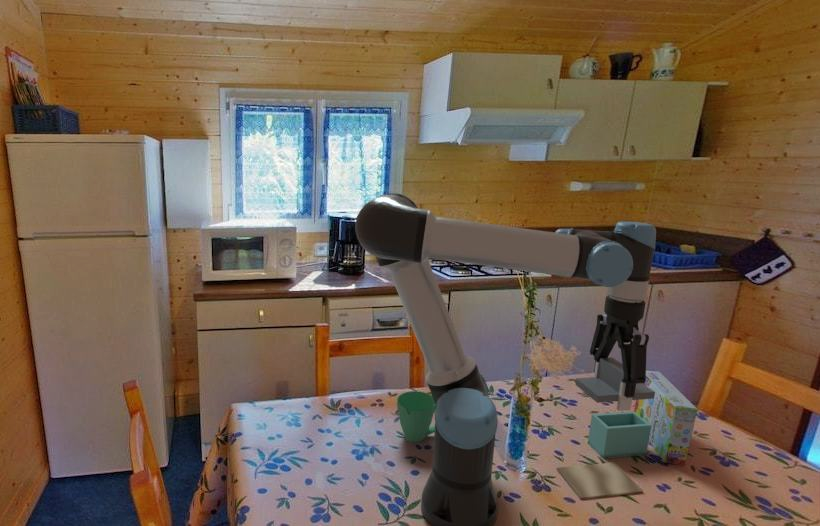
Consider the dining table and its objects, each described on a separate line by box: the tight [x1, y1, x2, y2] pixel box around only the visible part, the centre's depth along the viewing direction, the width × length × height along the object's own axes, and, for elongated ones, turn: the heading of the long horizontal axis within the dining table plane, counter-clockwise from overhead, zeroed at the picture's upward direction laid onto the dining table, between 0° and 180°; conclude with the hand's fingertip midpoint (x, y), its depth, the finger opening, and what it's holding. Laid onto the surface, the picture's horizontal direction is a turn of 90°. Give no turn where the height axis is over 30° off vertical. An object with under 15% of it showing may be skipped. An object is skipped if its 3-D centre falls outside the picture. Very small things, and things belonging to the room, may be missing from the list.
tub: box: [587, 411, 651, 459], centre depth 117 cm, size 12×6×8 cm, turn 102°
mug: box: [396, 390, 436, 443], centre depth 118 cm, size 15×10×10 cm
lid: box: [575, 357, 655, 404], centre depth 100 cm, size 14×8×7 cm, turn 103°
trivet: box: [556, 461, 644, 500], centre depth 105 cm, size 15×10×1 cm, turn 102°
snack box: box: [633, 370, 698, 466], centre depth 121 cm, size 21×6×15 cm, turn 175°
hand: (610, 399), depth 101 cm, fingers closed on lid, 8 cm apart
